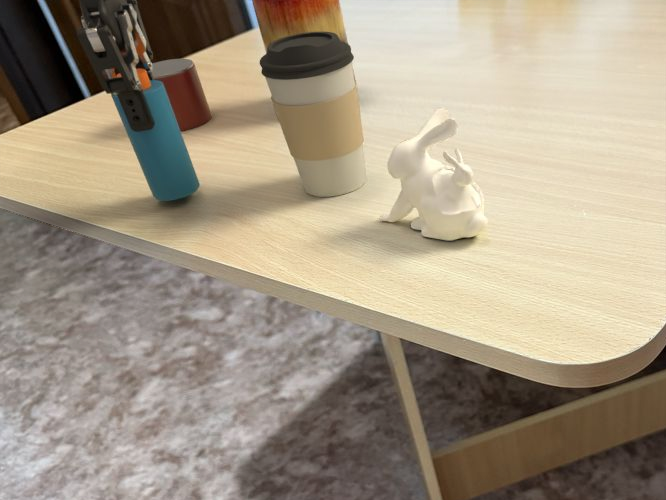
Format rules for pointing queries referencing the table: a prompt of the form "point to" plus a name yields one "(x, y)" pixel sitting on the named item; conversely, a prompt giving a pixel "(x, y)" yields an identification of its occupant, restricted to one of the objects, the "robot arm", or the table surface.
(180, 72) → the tin
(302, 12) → the vase
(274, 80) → the coffee cup
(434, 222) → the rabbit figurine
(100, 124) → the table surface
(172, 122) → the teal blue cylinder
